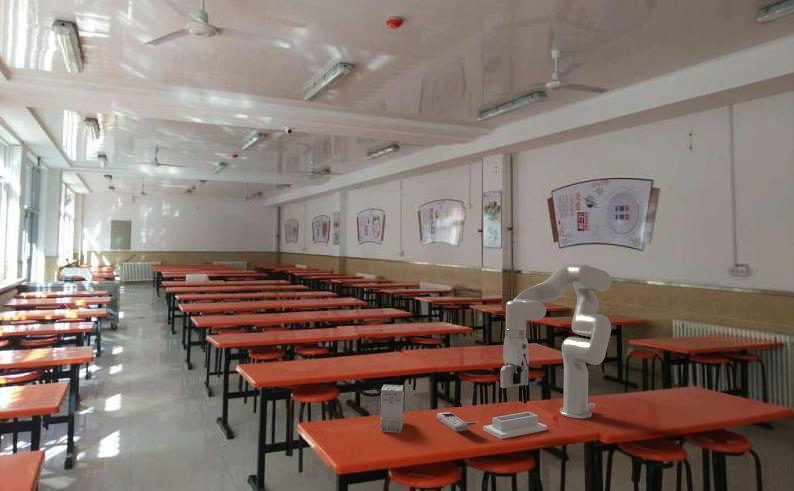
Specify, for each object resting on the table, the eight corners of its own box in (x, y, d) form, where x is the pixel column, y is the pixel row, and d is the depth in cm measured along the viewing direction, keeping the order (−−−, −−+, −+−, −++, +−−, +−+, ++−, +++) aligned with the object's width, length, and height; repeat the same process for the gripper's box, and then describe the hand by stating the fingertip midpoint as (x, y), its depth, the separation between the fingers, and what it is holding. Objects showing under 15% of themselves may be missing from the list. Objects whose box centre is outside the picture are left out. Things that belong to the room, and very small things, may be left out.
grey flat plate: (500, 387, 188) (500, 366, 188) (525, 383, 193) (525, 363, 193) (503, 388, 186) (503, 366, 186) (528, 384, 192) (528, 364, 192)
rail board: (528, 421, 198) (528, 409, 198) (546, 429, 189) (546, 416, 189) (483, 430, 187) (483, 416, 187) (500, 439, 178) (501, 424, 179)
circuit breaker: (404, 419, 197) (404, 381, 198) (400, 432, 183) (401, 391, 184) (385, 418, 198) (385, 380, 198) (380, 431, 184) (381, 390, 184)
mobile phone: (465, 423, 178) (433, 403, 201) (464, 440, 178) (433, 418, 201) (480, 421, 180) (447, 401, 203) (479, 438, 180) (446, 416, 203)
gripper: (537, 336, 185) (537, 387, 184) (509, 330, 199) (508, 377, 198) (522, 337, 181) (521, 389, 181) (494, 331, 195) (493, 379, 195)
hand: (514, 382), depth 190 cm, fingers closed on grey flat plate, 1 cm apart
